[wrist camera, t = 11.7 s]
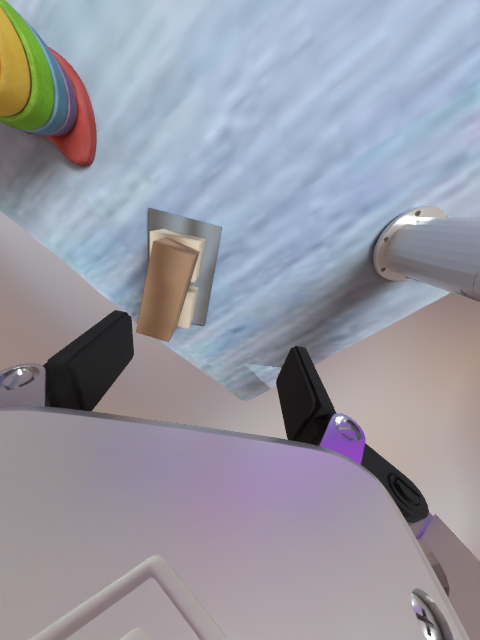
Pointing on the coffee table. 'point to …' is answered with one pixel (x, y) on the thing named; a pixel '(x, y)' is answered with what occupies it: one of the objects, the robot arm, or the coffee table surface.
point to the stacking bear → (43, 90)
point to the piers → (207, 243)
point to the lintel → (166, 287)
